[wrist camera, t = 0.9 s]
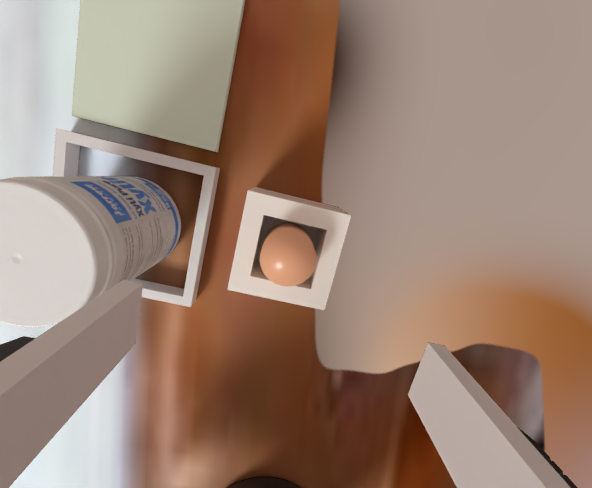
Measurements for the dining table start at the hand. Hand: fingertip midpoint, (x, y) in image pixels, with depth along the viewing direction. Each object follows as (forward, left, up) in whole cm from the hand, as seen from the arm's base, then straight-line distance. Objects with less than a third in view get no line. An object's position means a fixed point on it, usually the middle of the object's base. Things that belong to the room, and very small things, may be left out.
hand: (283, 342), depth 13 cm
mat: (+14, +16, -21) cm, 30 cm away
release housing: (0, 0, -21) cm, 21 cm away
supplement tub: (-2, +16, -21) cm, 26 cm away
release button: (0, 0, -17) cm, 17 cm away
